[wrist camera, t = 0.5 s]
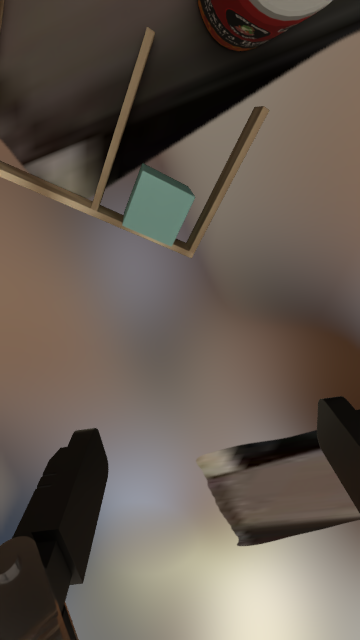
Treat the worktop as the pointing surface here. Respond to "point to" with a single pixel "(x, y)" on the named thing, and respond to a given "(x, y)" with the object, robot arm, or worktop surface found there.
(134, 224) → the plain green block
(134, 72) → the bay rack
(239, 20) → the canned food
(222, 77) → the worktop surface
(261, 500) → the worktop surface
